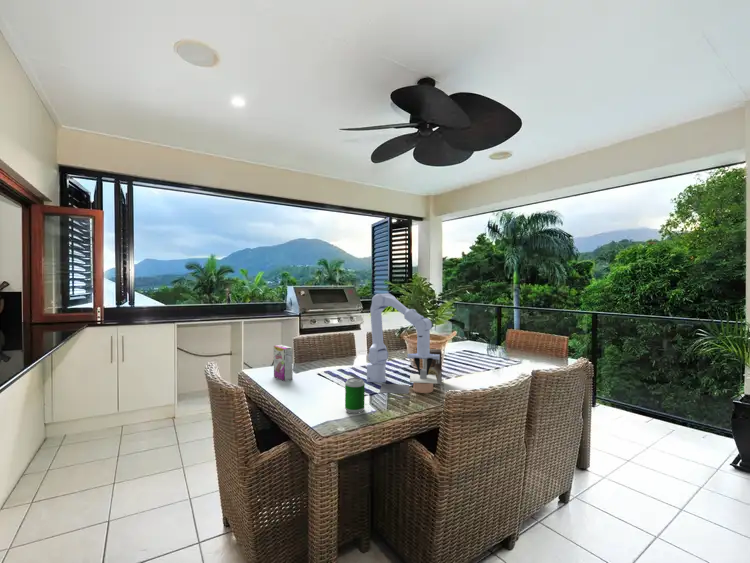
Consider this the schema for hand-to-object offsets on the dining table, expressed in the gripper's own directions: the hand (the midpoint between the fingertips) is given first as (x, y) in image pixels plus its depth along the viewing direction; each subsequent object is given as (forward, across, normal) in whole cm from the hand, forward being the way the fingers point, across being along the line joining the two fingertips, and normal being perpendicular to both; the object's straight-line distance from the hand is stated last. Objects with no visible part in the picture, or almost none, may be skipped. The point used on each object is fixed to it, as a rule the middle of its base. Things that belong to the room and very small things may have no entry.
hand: (423, 374), depth 161 cm
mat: (+7, -13, 0) cm, 15 cm away
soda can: (+8, -27, -28) cm, 40 cm away
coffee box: (+8, +5, +13) cm, 16 cm away
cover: (+2, 0, 0) cm, 2 cm away
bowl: (+7, 0, 0) cm, 7 cm away
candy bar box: (+8, -71, +11) cm, 72 cm away
